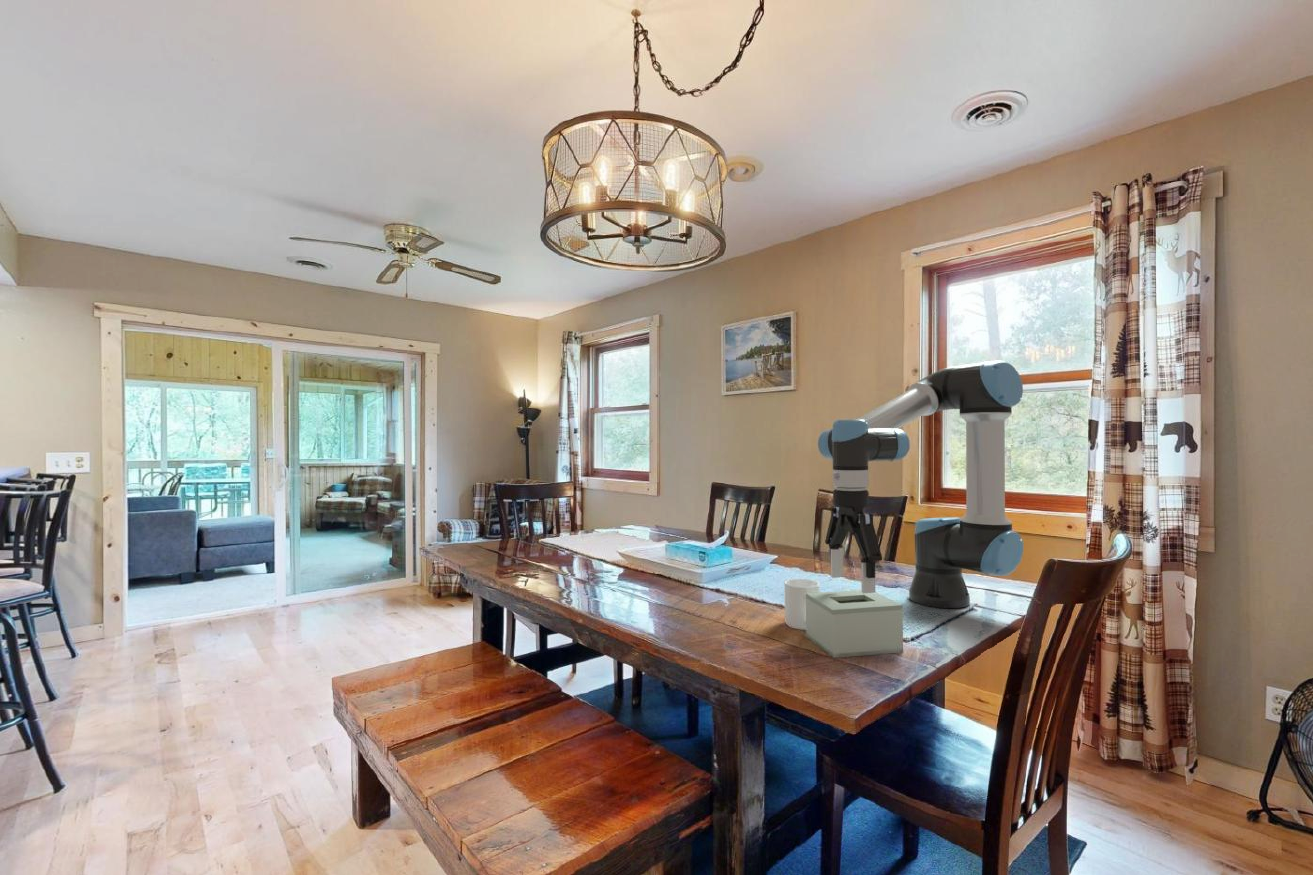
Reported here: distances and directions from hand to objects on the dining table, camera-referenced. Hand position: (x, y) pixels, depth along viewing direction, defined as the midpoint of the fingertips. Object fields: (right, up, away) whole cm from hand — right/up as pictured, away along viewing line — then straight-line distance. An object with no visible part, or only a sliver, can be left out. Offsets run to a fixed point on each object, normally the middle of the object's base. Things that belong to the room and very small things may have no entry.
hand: (852, 584), depth 126 cm
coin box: (0, -13, 0) cm, 13 cm away
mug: (-8, -14, +12) cm, 19 cm away
